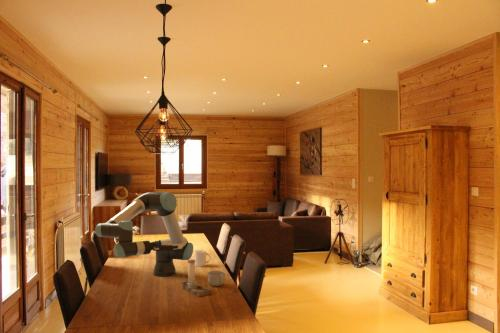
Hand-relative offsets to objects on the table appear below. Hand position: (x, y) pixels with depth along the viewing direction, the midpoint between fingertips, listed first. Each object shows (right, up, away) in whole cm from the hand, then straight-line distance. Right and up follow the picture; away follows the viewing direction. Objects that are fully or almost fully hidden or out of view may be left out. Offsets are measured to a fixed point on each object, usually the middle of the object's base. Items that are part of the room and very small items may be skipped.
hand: (176, 244), depth 249 cm
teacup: (+23, -28, +12) cm, 38 cm away
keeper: (+8, -26, +5) cm, 28 cm away
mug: (+8, -28, +66) cm, 72 cm away
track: (+11, -28, 0) cm, 30 cm away
